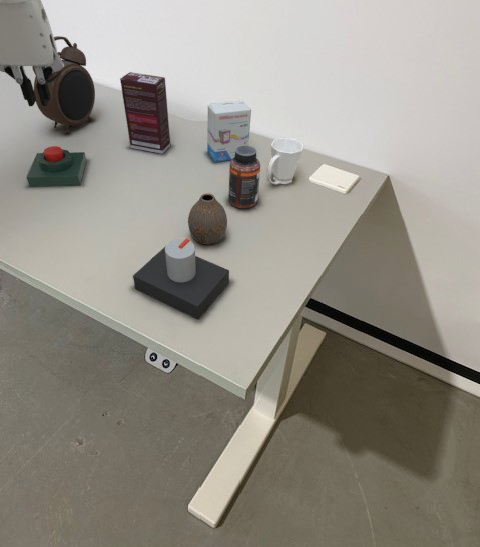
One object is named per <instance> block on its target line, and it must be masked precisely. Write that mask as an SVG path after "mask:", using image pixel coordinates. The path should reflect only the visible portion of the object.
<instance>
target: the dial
mask: <svg viewBox="0 0 480 547" xmlns="http://www.w3.org/2000/svg"><path fill="white" fill-rule="evenodd" d="M165 246H166V247H165ZM165 246H164V247H165V256H166V265H167V274H168V277H169V278H170V279H171V280H172V281H175V282H180V283H181V282H187V281H190V280H191V279H193V278H194V276H195V274H196V265H195V256H196V246H195V244H194V243H193V242H192V241H190V239H189V238H185V239H184V238H177V239H173V240H171V241H169V242H168V243H167V244H165Z"/></svg>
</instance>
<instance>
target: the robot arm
mask: <svg viewBox="0 0 480 547" xmlns="http://www.w3.org/2000/svg"><path fill="white" fill-rule="evenodd" d="M54 37H55V36H54V34H53V31H52V26H51V24H50V21H49V17H48V14H47V12H46V10H45V7H44V4H43V3H42V0H0V72H2V73H5V74H7V75H8V76H9V77H10V78H12V79H13V80H15V83H16V84H18V85H19V87H20V90H21V93H22V96H23V99H24V101H27V105H28V106H29V107H33V106H34V105H35V104H36V97H35V93H34V85H33V83H32V80H31V79H30V77H29V78H28V76H27V73H26V71H25V67H32V66H34V68H35V71H36V75H37V82H38V83H37V85H36V87H37V90H38V94H39V97H40V101H41V104H42V105H43V106H47V104H48V101H49V100H50V99H51V96H50V92H49V88H48V84H47V79H48V78H49V76H50V75H51V74H52V73H54V72H57V71H59V70H61V69H63V66H64V63H63V62H62V60H63V59H61V58H60V56H59V55H58V54H57V52H58V48H57V44H56V41H55V40H54ZM36 75H35V76H36Z"/></svg>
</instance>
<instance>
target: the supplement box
mask: <svg viewBox="0 0 480 547" xmlns="http://www.w3.org/2000/svg"><path fill="white" fill-rule="evenodd" d="M119 81H120V86H121V93H122V100H123V101H122V102H123V107H124V114H125V120H126V127H127V133H128V140H129V146H130V149H134V150H141V151H144V152H145V151H146V152H152V153H156V154H162V155H163V154H164V153H165V152H166V151H167V150H168V149H169V148H170V147H171V135H170V122H169V113H168V110H169V109H168V98H167V87H166V86H167V85H166V78H165V77H164V76H157V75H152V74H144V73H138V72H132V71H129V72H127V73H126V74H125V75H122V77H120V78H119Z"/></svg>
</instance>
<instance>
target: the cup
mask: <svg viewBox="0 0 480 547" xmlns="http://www.w3.org/2000/svg"><path fill="white" fill-rule="evenodd" d="M304 145H305V144H303V143H302V142H301V141H299V140H298V139H296V138H290V137H280V138H276V139H275V138H274V139H273V140H272V141H271V144H270V156H271V157H270V158H271V159H270V161H269V164H268V166H267V169H266V180H267V182H268V183H270V184H273V185H279V184H281V185H288V184H291V183H292V182H293V178H294V175H295V173H296V171H297V168H298V165H299V161H300V159H301V155H302V152H303V148H304V147H305V146H304ZM271 174H272V175H273V177H272V180H273V181H272V180H271Z"/></svg>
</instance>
